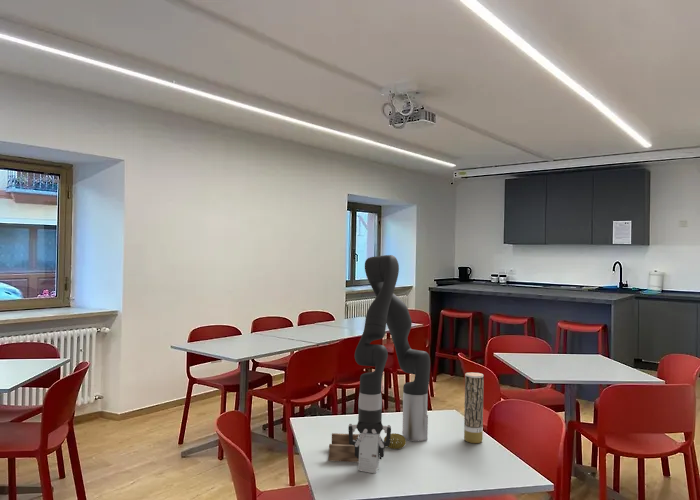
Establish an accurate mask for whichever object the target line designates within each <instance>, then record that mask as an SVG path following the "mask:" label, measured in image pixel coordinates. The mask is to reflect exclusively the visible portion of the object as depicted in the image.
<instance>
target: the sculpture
mask: <svg viewBox="0 0 700 500" xmlns="http://www.w3.org/2000/svg"><path fill="white" fill-rule="evenodd" d="M384 441H386V435H385V437H384V438H383V442H384ZM406 444H407V440H406V439H405V437H404V436H402V434H399V433H394V432H393V433H392V432H391V436H390V445H389V446H386V447H387V448H389V449H391V450H392V449H393V450H399V449H403V448H404V447H405V446H406Z"/></svg>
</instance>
